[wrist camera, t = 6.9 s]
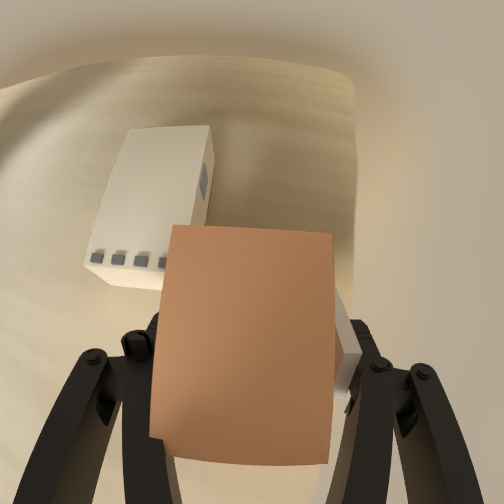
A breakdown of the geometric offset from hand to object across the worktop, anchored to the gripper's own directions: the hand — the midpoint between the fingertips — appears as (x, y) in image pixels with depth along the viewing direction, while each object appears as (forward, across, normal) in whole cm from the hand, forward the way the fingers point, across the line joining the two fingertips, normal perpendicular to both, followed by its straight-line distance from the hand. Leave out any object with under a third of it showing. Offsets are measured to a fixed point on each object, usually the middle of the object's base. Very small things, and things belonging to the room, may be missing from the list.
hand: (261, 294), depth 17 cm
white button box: (+8, -8, +2) cm, 11 cm away
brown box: (0, -1, -5) cm, 5 cm away
